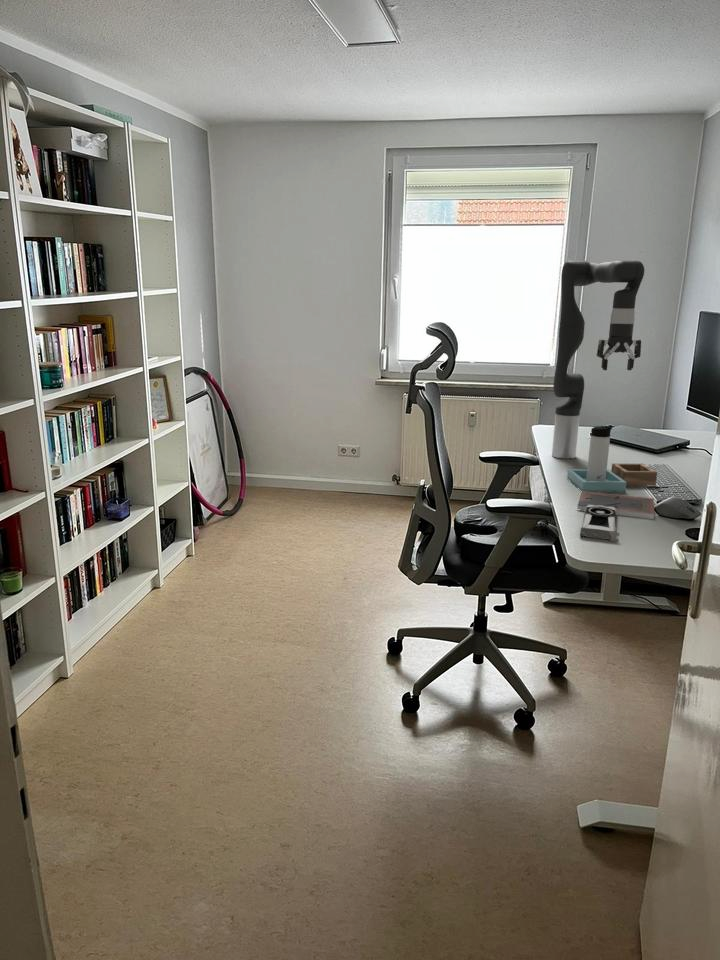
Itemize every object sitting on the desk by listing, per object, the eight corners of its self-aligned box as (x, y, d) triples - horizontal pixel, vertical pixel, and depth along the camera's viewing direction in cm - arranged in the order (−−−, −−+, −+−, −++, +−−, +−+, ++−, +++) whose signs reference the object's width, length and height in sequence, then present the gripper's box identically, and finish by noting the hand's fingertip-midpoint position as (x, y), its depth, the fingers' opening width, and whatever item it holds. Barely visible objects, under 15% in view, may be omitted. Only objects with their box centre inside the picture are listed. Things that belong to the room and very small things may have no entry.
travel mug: (602, 486, 230) (608, 428, 225) (583, 483, 234) (588, 426, 229) (608, 482, 235) (614, 425, 229) (589, 479, 239) (595, 423, 233)
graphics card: (580, 528, 184) (585, 501, 207) (579, 539, 185) (584, 512, 208) (620, 532, 181) (620, 505, 203) (618, 544, 182) (619, 516, 204)
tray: (567, 479, 242) (567, 469, 241) (607, 479, 242) (608, 469, 242) (582, 492, 226) (583, 482, 225) (625, 492, 227) (626, 482, 226)
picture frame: (576, 512, 208) (653, 521, 201) (577, 504, 208) (654, 513, 200) (581, 497, 223) (652, 505, 215) (581, 490, 222) (653, 497, 215)
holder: (610, 476, 245) (612, 463, 244) (640, 476, 245) (642, 463, 244) (623, 486, 234) (625, 472, 232) (655, 486, 234) (657, 472, 233)
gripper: (638, 321, 235) (632, 369, 240) (597, 321, 235) (592, 368, 239) (647, 322, 228) (641, 371, 232) (605, 322, 228) (600, 371, 232)
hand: (616, 370), depth 236 cm, fingers open, 8 cm apart
